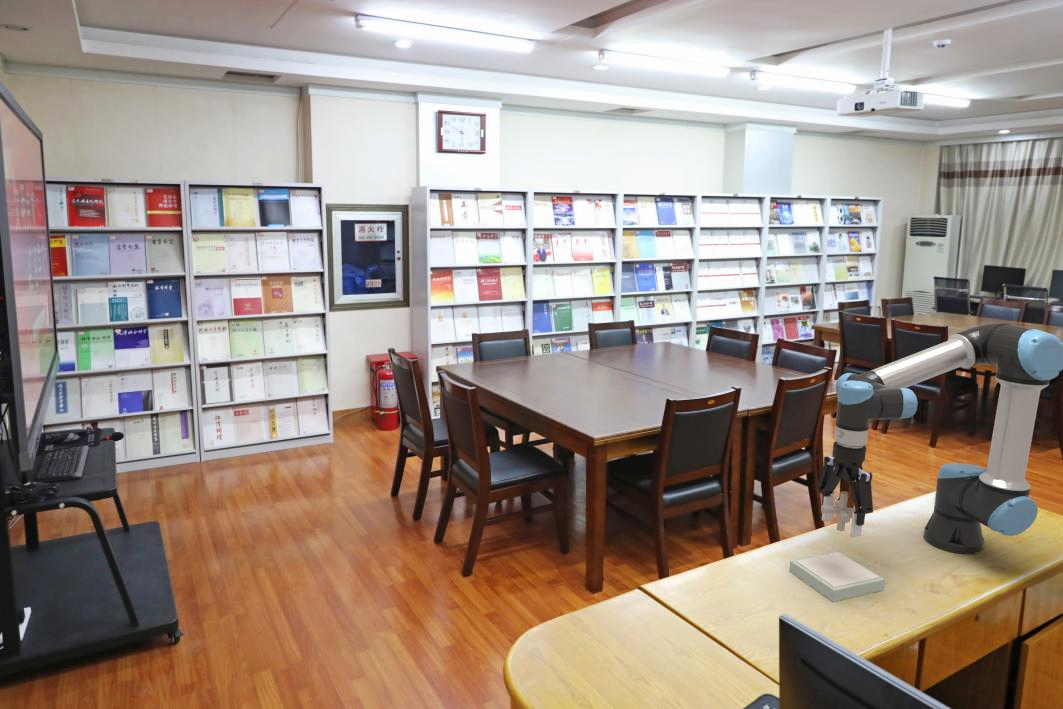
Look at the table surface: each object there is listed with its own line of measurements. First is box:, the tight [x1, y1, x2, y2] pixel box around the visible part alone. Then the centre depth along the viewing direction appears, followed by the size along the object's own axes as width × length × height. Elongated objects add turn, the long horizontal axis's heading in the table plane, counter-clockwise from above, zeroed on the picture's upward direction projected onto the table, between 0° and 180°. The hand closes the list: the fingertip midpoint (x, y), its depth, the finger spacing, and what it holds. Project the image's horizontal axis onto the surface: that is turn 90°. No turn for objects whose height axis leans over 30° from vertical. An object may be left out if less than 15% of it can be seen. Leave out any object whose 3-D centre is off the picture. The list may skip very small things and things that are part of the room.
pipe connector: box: [820, 490, 856, 532], centre depth 188 cm, size 10×10×10 cm
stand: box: [788, 550, 886, 603], centre depth 191 cm, size 16×16×3 cm
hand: (840, 527), depth 189 cm, fingers closed on pipe connector, 9 cm apart
